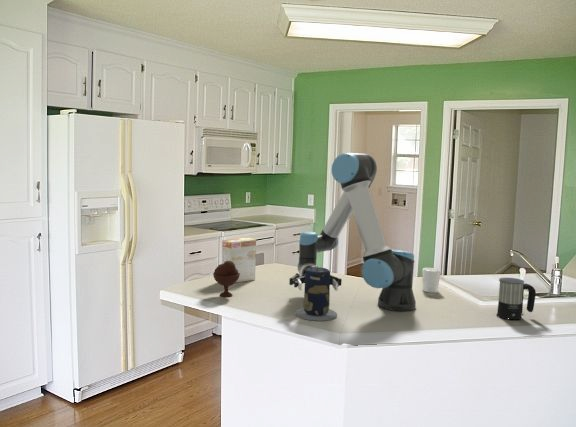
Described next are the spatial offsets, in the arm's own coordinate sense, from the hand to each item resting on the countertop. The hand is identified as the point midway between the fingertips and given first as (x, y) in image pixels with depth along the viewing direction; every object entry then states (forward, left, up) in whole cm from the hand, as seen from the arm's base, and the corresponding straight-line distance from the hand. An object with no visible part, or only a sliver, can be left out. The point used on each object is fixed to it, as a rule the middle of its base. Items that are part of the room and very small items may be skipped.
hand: (318, 287), depth 203 cm
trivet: (+2, -3, -12) cm, 12 cm away
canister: (+2, -3, -11) cm, 12 cm away
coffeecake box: (+58, -25, -12) cm, 64 cm away
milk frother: (-56, -54, -12) cm, 79 cm away
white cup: (-19, -69, -12) cm, 72 cm away
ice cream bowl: (+45, -1, -12) cm, 47 cm away
